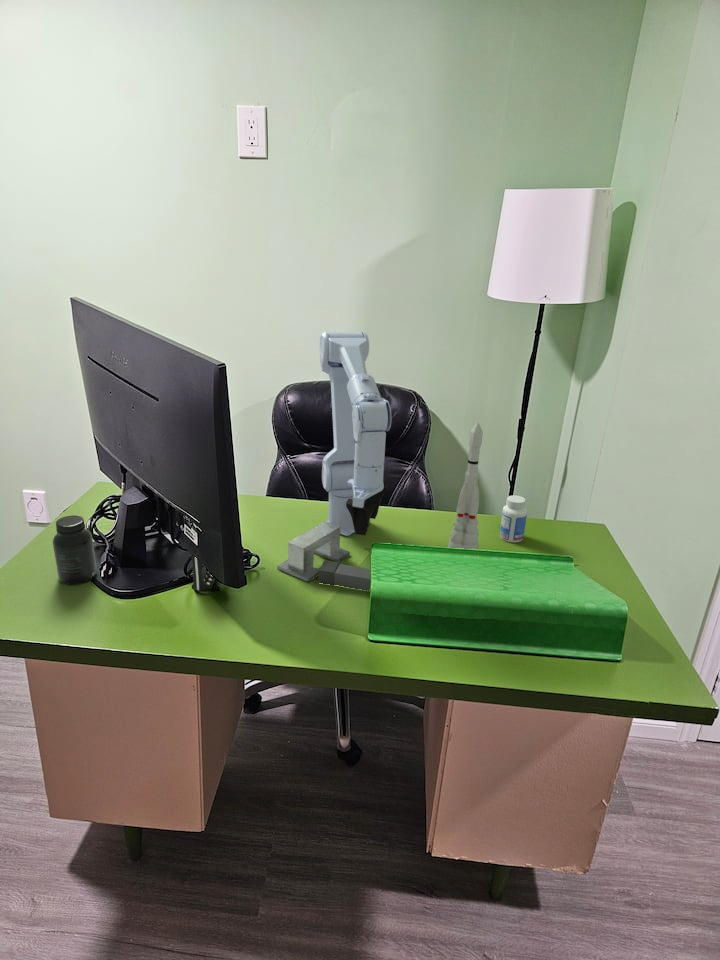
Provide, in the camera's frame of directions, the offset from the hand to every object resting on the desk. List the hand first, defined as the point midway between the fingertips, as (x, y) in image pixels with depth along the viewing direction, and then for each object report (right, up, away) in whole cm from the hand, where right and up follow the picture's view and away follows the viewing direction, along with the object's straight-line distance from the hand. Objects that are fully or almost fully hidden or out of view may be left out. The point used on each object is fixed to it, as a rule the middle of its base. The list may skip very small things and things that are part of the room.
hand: (365, 525), depth 127 cm
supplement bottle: (-56, -10, -4) cm, 57 cm away
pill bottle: (+33, -4, +18) cm, 38 cm away
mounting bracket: (-11, -8, +4) cm, 14 cm away
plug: (-2, -11, -3) cm, 12 cm away
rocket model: (+21, -7, +9) cm, 24 cm away
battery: (-31, -11, -4) cm, 33 cm away
